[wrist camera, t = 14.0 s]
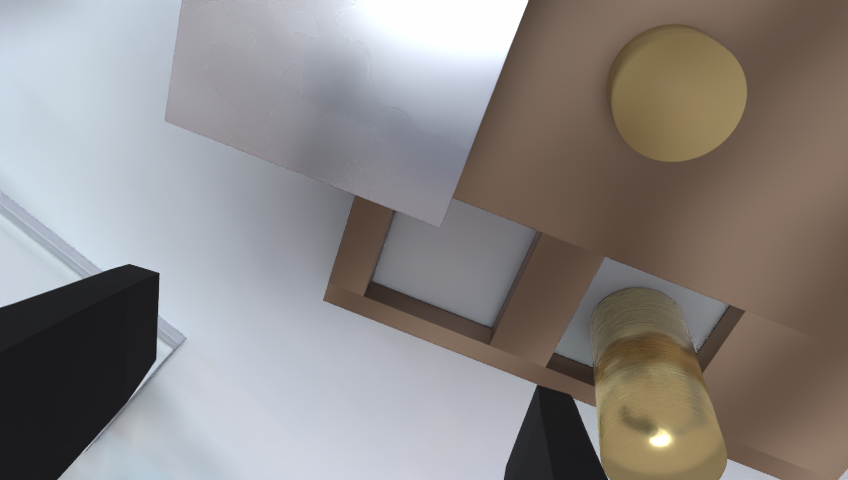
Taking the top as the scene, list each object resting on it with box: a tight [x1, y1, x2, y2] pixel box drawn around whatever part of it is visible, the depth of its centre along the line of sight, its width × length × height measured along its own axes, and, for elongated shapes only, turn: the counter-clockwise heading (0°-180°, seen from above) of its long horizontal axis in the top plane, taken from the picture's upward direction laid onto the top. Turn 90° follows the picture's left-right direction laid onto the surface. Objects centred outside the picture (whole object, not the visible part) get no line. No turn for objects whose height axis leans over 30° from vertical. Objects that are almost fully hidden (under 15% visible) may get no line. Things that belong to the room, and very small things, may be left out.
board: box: [323, 0, 848, 480], centre depth 18 cm, size 23×15×3 cm, turn 71°
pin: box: [590, 288, 727, 480], centre depth 19 cm, size 3×3×6 cm
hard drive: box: [0, 191, 186, 454], centre depth 26 cm, size 2×8×12 cm
